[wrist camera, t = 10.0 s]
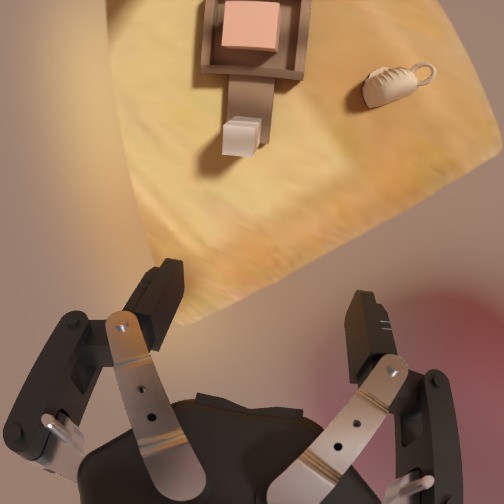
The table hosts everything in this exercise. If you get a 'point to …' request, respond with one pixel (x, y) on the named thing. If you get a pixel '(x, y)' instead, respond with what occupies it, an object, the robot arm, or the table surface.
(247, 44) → the terracotta cube
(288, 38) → the tray
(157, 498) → the robot arm
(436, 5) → the table surface
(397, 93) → the decorative ornament
